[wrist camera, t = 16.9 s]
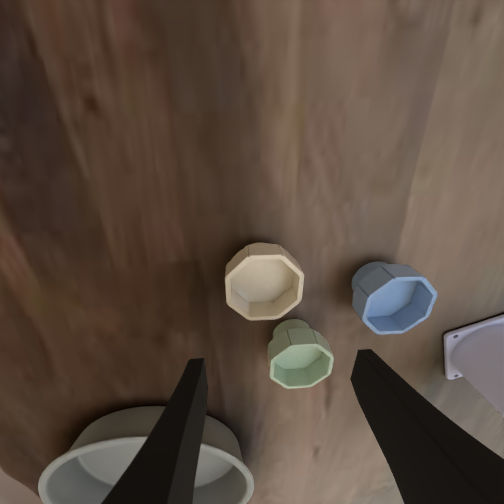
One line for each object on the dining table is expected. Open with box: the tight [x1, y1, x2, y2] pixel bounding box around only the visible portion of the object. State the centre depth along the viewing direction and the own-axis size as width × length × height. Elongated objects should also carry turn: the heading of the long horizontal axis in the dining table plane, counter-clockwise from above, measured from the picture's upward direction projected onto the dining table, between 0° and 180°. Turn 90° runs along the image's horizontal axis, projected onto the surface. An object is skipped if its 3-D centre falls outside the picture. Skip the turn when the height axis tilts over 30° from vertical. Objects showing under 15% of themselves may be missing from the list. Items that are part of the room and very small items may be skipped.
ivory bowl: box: [225, 242, 304, 320], centre depth 19 cm, size 6×6×4 cm
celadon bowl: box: [267, 319, 334, 389], centre depth 22 cm, size 6×6×4 cm
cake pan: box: [38, 406, 254, 504], centre depth 30 cm, size 25×25×4 cm
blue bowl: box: [352, 261, 437, 335], centre depth 20 cm, size 6×6×4 cm
